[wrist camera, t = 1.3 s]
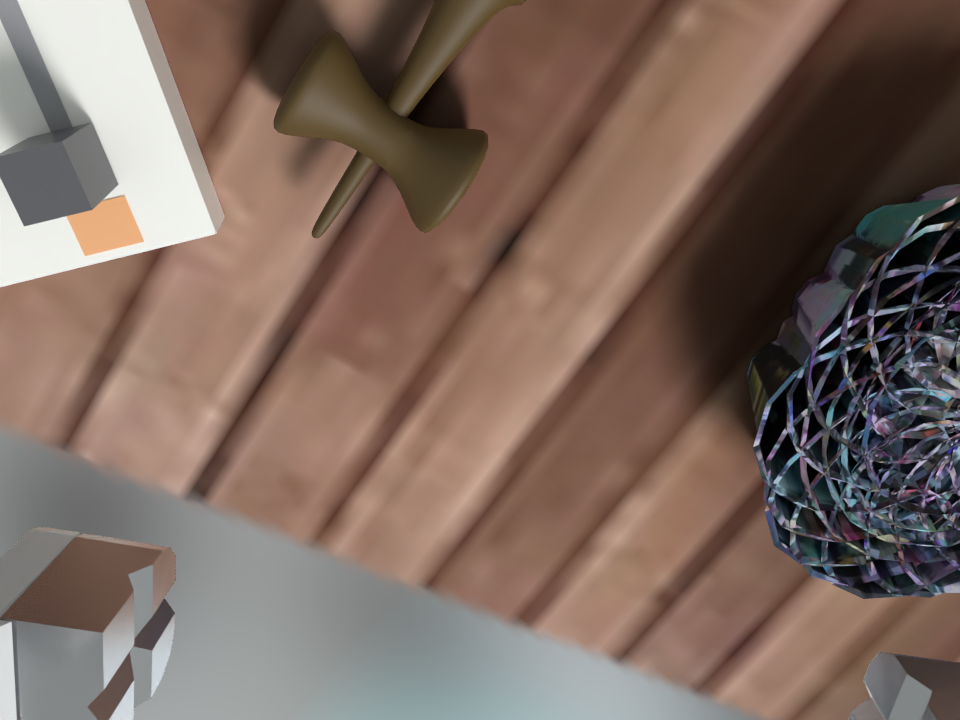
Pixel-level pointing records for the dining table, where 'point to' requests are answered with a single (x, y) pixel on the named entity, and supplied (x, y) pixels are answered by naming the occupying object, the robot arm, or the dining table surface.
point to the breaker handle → (57, 174)
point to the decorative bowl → (870, 408)
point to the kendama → (392, 116)
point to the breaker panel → (99, 133)
